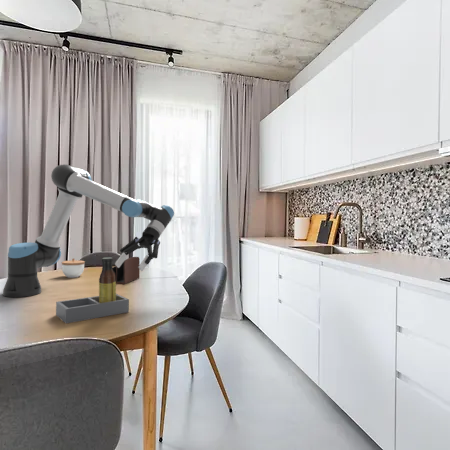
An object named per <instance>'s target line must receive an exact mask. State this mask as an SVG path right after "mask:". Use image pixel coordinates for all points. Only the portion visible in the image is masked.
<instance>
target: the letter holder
mask: <svg viewBox="0 0 450 450" xmlns="http://www.w3.org/2000/svg"><path fill="white" fill-rule="evenodd" d="M140 264H141V262H140V256H133V257H132V256H131V257H127V258H126V259H125V260H124V262H123V263H122V265H121V266H120V267H119V268H118V267H117V266H116V265H115V266H112V267H113V268H112V270H113V271H114V273H115V276H116V279H115V280H116V285H126V284H128V283H131V282H134V281H135V280H138V279H140V271H141V270H140V269H139V265H140Z"/></svg>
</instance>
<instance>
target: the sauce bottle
mask: <svg viewBox="0 0 450 450" xmlns="http://www.w3.org/2000/svg"><path fill="white" fill-rule="evenodd" d="M113 261H114V260H113V257H106V256H105V257H103V258H101V263H102V267H101V272H100V274H99V278H98V296H99V303H104V302H111V301H116V294H117V284H116V280H115V279H116V276H115V273H114V271H113V270H112V268H113V267H114V266H113Z"/></svg>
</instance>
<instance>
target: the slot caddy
mask: <svg viewBox="0 0 450 450" xmlns="http://www.w3.org/2000/svg"><path fill="white" fill-rule="evenodd" d="M55 305H56V306H55V316H56V317H57V318H58V319H59V320H61V321H62V322H64V323H65V324H71V323H77V322H81V321H87V320H92V319H97V318H103V317H108V316H109V317H111V316H113V315H114V316H115V315H119V314H126V313H130V312H129V310H130V309H129V306H130V299H129V298H126V297H124V296H122V295H120V294H118V293H116V301H111V302H104V303H99V295H97V296H89V297H81V298H75V299H67V300H60V301H56V304H55Z"/></svg>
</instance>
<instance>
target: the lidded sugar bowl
mask: <svg viewBox="0 0 450 450" xmlns="http://www.w3.org/2000/svg"><path fill="white" fill-rule="evenodd" d="M85 262H86V261H84V260H79V259H78V260H77V259H75V258H71V260H63V261H62V262H61V270H62V274H63V275H64V276H66V278H69V279H70V278H71V279H73V278H79V277H80V276H81V275H82V274H83V273H84V269H85Z"/></svg>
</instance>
